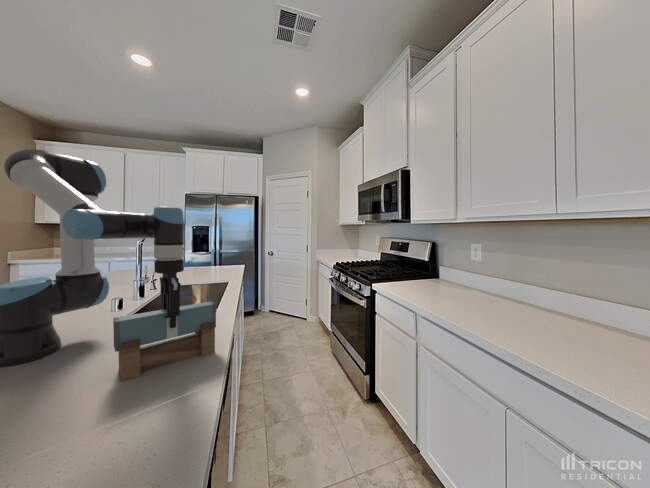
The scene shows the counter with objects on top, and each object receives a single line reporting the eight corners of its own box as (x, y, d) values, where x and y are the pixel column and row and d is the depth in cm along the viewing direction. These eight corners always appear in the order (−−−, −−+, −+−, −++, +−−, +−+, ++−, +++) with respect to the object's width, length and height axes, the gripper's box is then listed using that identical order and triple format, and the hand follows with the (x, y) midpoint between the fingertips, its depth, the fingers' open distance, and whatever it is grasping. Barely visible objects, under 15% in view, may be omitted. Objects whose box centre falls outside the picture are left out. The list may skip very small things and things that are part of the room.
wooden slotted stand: (118, 370, 71) (118, 335, 71) (206, 344, 88) (206, 316, 88) (121, 381, 66) (121, 344, 66) (214, 352, 83) (214, 322, 82)
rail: (113, 346, 69) (113, 317, 69) (211, 323, 87) (211, 301, 87) (115, 351, 66) (114, 322, 66) (215, 327, 84) (215, 303, 84)
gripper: (192, 261, 72) (192, 340, 73) (175, 255, 84) (176, 324, 86) (161, 262, 67) (162, 348, 68) (148, 256, 79) (149, 329, 80)
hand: (170, 334), depth 77 cm, fingers closed on rail, 4 cm apart
